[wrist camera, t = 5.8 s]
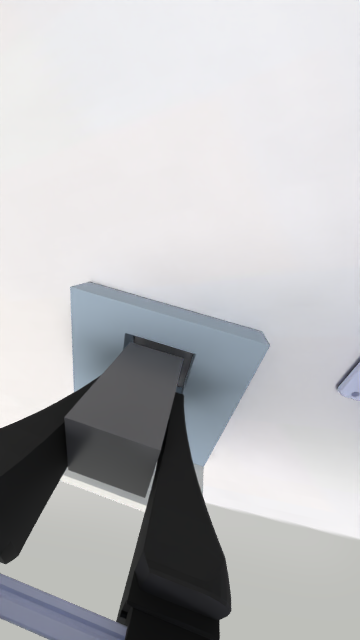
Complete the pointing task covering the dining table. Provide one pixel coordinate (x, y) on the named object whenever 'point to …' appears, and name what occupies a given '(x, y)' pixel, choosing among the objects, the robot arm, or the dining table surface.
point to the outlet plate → (175, 331)
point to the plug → (124, 419)
